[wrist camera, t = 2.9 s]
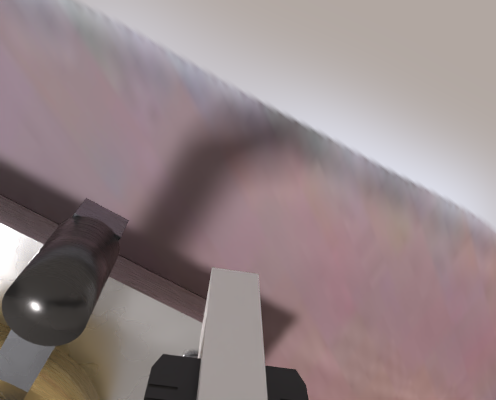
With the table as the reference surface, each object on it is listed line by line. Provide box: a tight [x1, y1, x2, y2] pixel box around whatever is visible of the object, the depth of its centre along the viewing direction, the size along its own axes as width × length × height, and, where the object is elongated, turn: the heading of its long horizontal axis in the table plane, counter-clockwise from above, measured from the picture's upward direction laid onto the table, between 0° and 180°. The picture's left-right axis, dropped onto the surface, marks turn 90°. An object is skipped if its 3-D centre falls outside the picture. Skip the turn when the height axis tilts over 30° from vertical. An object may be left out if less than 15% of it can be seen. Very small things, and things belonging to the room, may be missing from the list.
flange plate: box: [0, 195, 206, 400], centre depth 25 cm, size 20×20×2 cm
